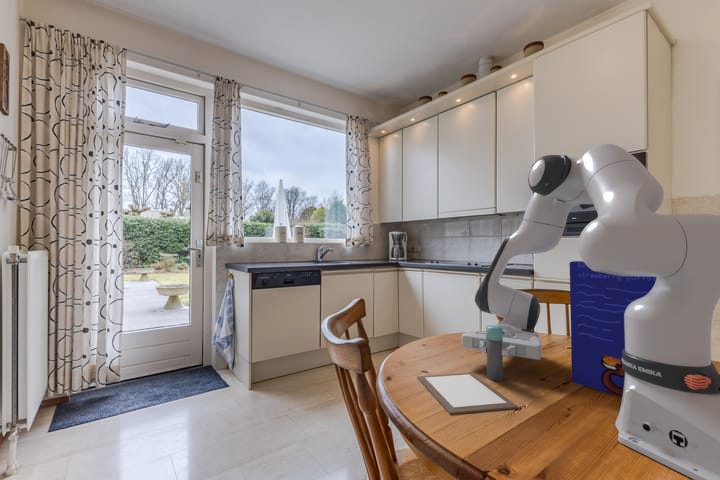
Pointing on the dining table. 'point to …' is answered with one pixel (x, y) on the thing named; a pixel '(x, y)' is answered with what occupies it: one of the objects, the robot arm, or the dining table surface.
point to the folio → (465, 393)
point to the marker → (494, 352)
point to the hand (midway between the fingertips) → (493, 351)
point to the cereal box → (600, 324)
